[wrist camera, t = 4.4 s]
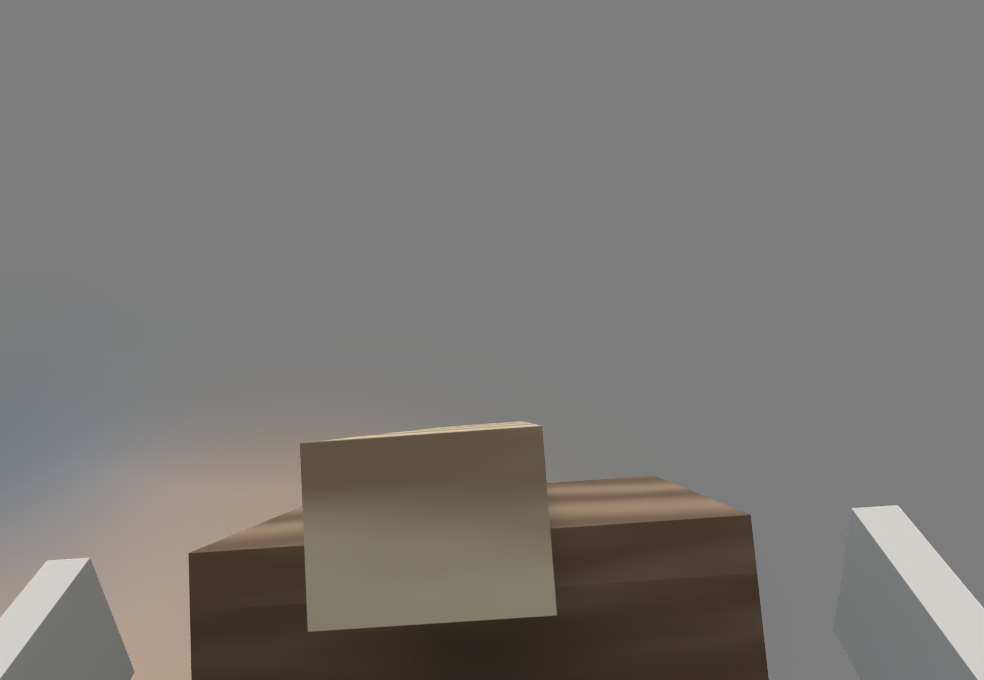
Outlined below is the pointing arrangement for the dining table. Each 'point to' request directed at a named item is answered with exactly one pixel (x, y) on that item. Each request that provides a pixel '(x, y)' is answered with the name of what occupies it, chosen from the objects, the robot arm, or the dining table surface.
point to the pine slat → (427, 527)
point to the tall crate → (515, 641)
